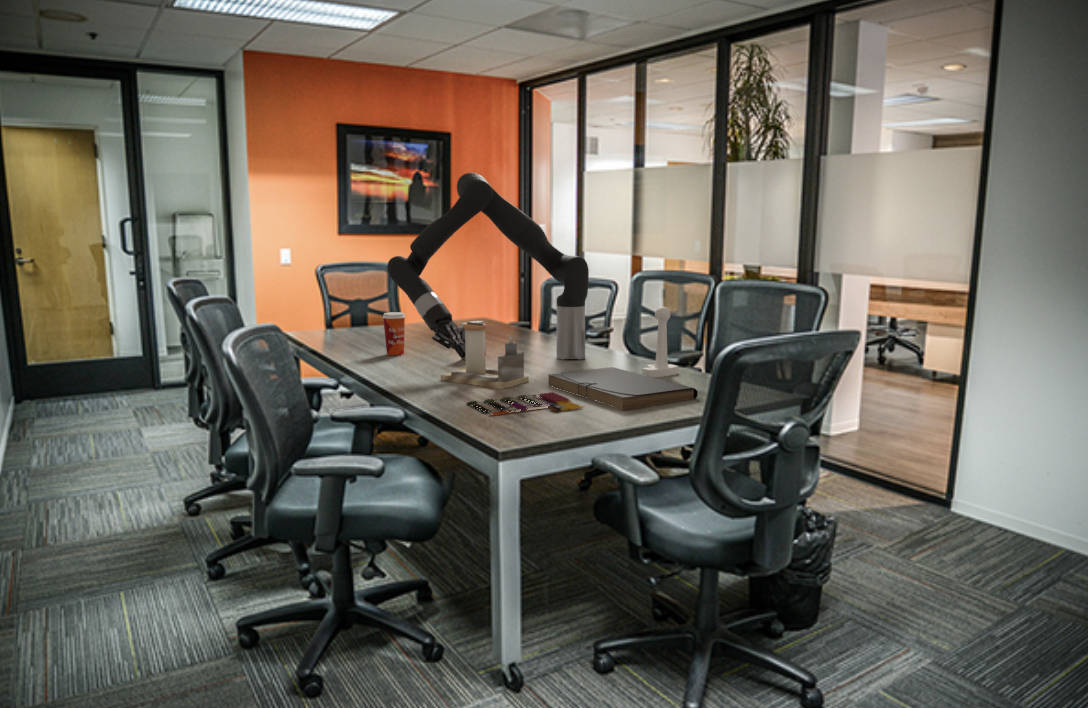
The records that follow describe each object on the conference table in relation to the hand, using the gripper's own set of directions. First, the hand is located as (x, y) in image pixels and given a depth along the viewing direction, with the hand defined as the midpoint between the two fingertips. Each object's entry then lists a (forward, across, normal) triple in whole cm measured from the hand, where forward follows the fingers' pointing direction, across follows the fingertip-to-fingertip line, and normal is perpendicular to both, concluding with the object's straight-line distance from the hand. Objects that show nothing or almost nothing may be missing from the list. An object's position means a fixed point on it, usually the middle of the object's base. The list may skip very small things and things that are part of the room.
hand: (465, 356), depth 217 cm
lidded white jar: (+6, 0, -1) cm, 6 cm away
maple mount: (+9, 0, 0) cm, 9 cm away
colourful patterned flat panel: (+29, +17, +19) cm, 39 cm away
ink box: (-9, -26, -18) cm, 33 cm away
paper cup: (-28, -17, -37) cm, 49 cm away
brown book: (+37, -9, +27) cm, 46 cm away
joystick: (+35, -36, +25) cm, 56 cm away
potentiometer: (+10, 0, +13) cm, 16 cm away
